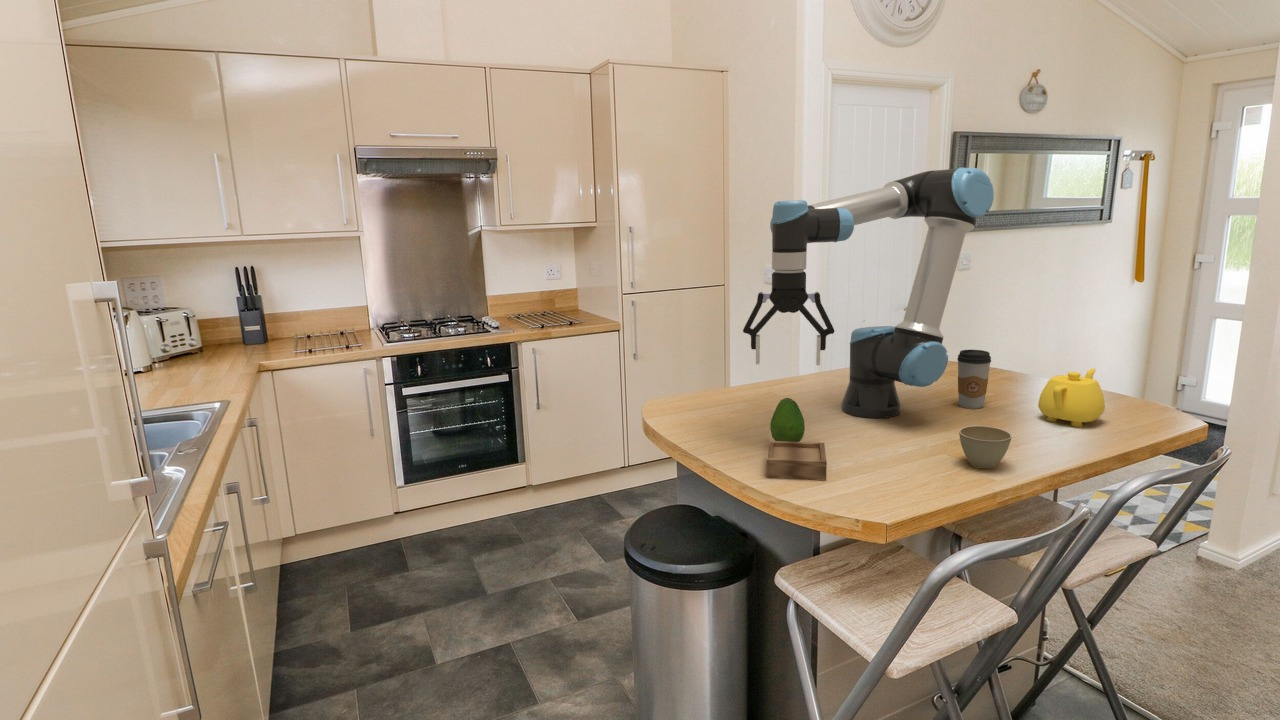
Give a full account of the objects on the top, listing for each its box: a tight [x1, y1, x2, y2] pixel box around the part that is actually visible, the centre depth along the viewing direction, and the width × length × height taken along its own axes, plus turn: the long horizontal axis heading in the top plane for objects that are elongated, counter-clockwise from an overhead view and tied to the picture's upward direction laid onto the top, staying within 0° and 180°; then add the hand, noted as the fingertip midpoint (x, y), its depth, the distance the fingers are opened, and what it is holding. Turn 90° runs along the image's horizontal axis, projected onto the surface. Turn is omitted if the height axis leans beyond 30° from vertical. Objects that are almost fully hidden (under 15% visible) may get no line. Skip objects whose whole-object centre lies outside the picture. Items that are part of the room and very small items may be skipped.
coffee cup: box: [956, 349, 992, 410], centre depth 190 cm, size 8×8×15 cm
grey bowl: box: [958, 425, 1012, 469], centre depth 149 cm, size 10×10×7 cm
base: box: [766, 440, 828, 481], centre depth 150 cm, size 12×12×4 cm
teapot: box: [1037, 367, 1106, 428], centre depth 175 cm, size 13×20×12 cm
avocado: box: [769, 397, 806, 442], centre depth 163 cm, size 8×8×12 cm
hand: (787, 363), depth 160 cm, fingers open, 13 cm apart
